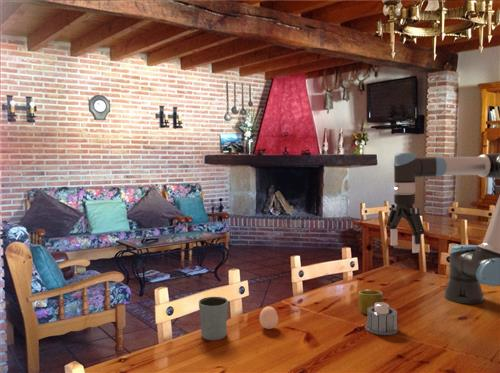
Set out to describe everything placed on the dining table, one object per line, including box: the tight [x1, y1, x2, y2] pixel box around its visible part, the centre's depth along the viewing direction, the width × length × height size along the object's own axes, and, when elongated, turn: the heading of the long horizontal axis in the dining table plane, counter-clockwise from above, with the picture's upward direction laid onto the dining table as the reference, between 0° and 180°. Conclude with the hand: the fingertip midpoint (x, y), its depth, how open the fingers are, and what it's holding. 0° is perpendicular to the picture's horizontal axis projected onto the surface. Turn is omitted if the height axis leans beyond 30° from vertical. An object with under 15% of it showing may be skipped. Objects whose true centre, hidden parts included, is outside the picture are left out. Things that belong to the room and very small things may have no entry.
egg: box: [259, 306, 279, 330], centre depth 160 cm, size 7×7×8 cm
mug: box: [357, 288, 384, 315], centre depth 177 cm, size 12×10×10 cm
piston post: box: [365, 302, 399, 337], centre depth 159 cm, size 11×11×9 cm
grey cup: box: [198, 296, 229, 341], centre depth 155 cm, size 10×10×12 cm
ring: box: [366, 306, 398, 333], centre depth 159 cm, size 10×10×6 cm
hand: (404, 248), depth 172 cm, fingers open, 13 cm apart
